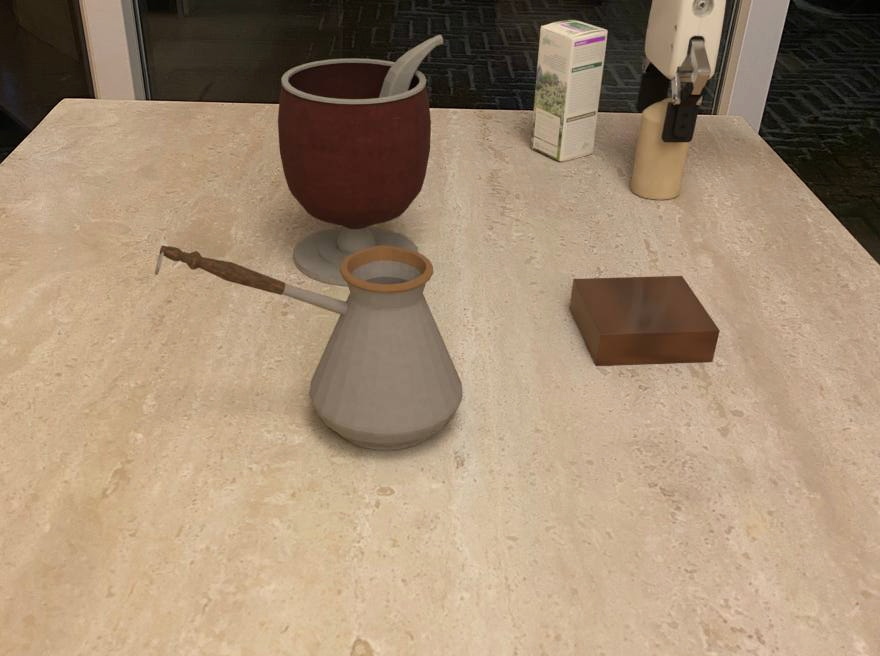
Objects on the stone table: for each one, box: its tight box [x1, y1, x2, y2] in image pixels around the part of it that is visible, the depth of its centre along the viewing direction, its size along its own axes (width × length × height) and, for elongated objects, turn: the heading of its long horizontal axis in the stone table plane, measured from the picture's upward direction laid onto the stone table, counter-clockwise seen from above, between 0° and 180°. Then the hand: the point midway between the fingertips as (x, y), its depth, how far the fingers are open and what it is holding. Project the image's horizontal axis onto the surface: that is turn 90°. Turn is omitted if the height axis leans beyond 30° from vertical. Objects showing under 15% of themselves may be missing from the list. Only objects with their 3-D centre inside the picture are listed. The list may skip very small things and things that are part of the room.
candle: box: [630, 97, 690, 201], centre depth 110 cm, size 6×6×10 cm
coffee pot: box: [154, 245, 464, 451], centre depth 71 cm, size 21×12×15 cm, turn 97°
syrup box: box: [530, 19, 609, 162], centre depth 119 cm, size 6×6×14 cm
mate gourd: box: [277, 34, 444, 287], centre depth 93 cm, size 16×14×20 cm
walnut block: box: [568, 275, 720, 367], centre depth 87 cm, size 10×10×3 cm
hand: (662, 125), depth 109 cm, fingers open, 9 cm apart
